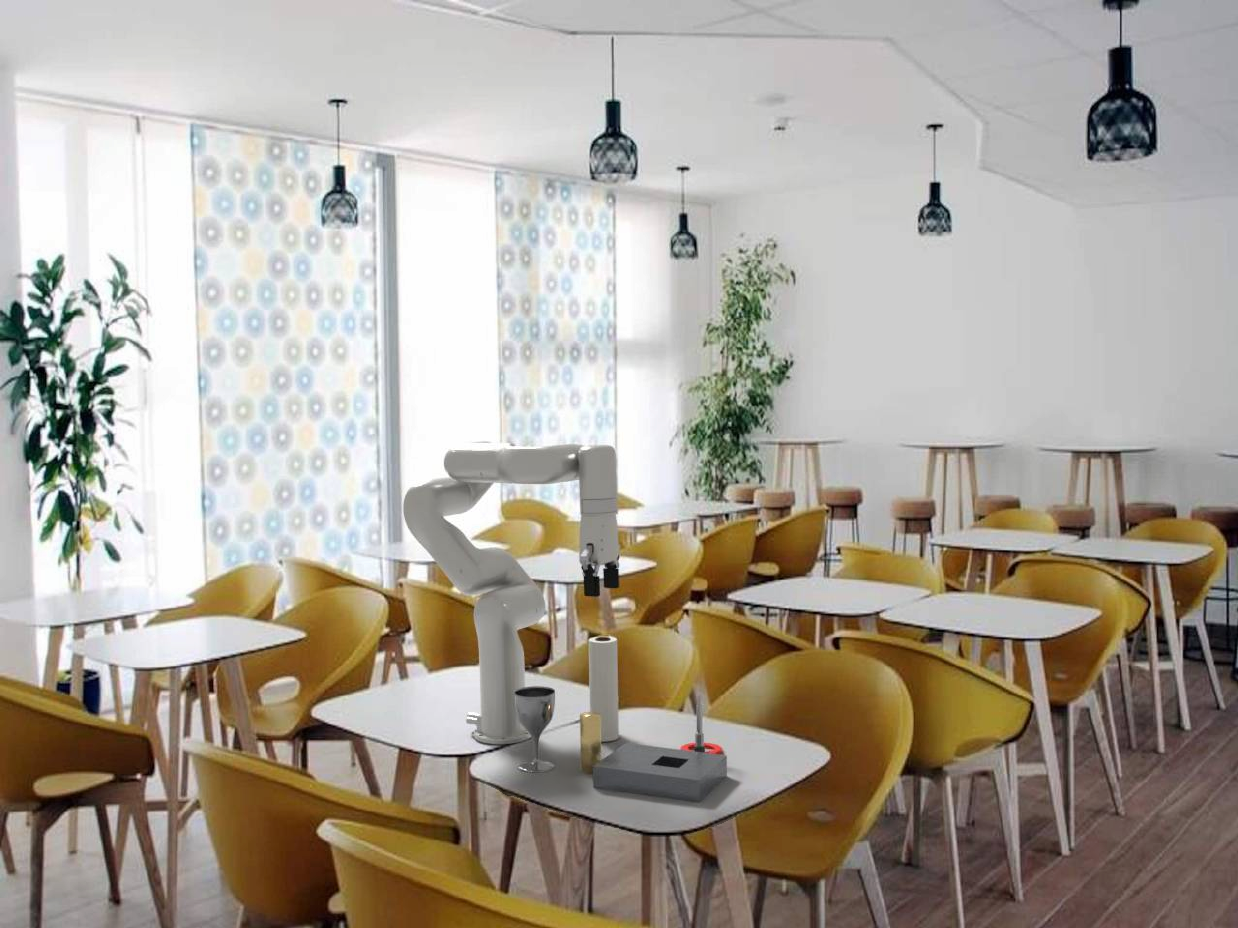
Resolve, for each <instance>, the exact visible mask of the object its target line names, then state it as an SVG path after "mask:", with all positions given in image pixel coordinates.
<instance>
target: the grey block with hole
mask: <svg viewBox="0 0 1238 928" xmlns="http://www.w3.org/2000/svg"><path fill="white" fill-rule="evenodd" d="M727 757H728V756H727V755H726V754H725V755H724V754H711V753H703V752H695V751H694V750H692V751H687V750H681V749H677V748H668V747H662V746H661V747H660V746H653V745H645V744H639V743H638V744H637V743H636V744H635V743H630V742H625V743H624V744H622V745H621V746H620V747H617V749H615V750H614V751H612V752H611V753H610V754H608V755H607V756H605V757H604V758H603V759H602V758H601V761H600V762H598V763H597V764H595V765H594V766H593V774H592V779H593V780H592V784H593V785H592V786H593V788H597V789H601V790H602V789H604V790H609V791H617V792H623V793H624V792H625V793H631V794H639V795H645V796H654V797H659V798H660V797H661V798H666V799H667V798H668V799H674V800H681V801H688V802H694V803H695V802H696V803H700V802H701V801H702V800H703V799H705V797H707V795H709V794H710V793H711V792H712V791H713V790H714V789H715V788H716V787H717V786H718V785H719V784H720V783H721V782H722V781H723V780H724V779H726V777H727V776H728V768H727V767H728V761H727V760H728V758H727Z"/></svg>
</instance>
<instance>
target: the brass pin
mask: <svg viewBox="0 0 1238 928" xmlns="http://www.w3.org/2000/svg"><path fill="white" fill-rule="evenodd" d="M579 728H580V729H579V733H580V735H579V736H580V737H579V738H580V771H581V773H583V774H587V775H588V774H589V775H593V766H594V765H595V764H597V763H598V762H600V761H601V760H602V742H601V714H600V713H598V712H590V711H585V712H582V713H580V714H579Z"/></svg>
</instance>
